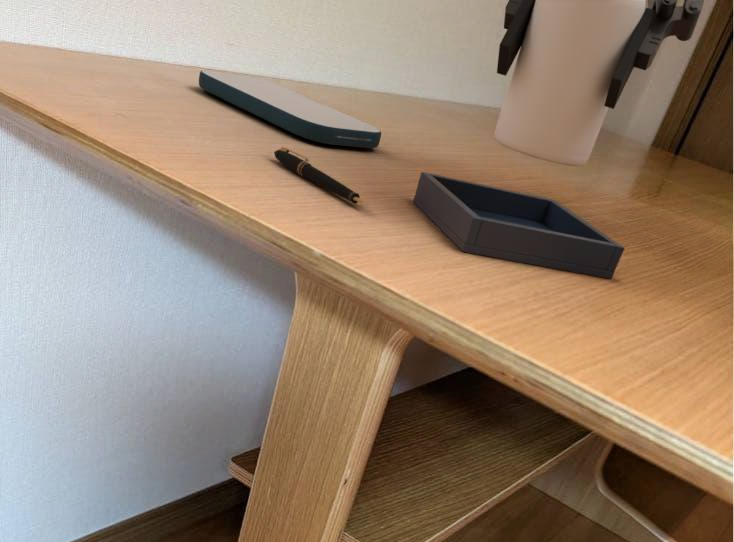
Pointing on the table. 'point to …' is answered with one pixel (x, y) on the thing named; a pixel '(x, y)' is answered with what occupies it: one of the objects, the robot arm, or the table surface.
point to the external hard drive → (290, 110)
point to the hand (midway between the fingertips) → (557, 76)
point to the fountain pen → (315, 175)
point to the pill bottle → (565, 77)
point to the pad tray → (515, 226)
